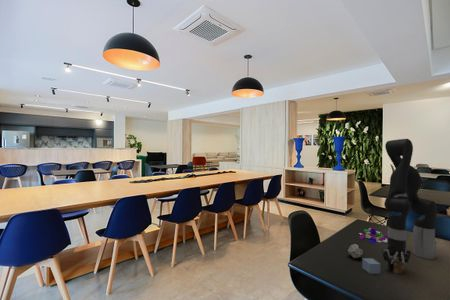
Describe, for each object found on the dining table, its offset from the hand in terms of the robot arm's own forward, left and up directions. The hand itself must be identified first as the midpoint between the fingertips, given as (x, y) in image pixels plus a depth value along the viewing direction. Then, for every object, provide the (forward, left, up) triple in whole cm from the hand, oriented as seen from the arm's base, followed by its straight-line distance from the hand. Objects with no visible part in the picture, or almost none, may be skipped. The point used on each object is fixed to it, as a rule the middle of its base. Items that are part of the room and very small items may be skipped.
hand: (395, 269), depth 111 cm
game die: (+13, -13, -1) cm, 18 cm away
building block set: (-21, -42, -1) cm, 47 cm away
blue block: (+13, 0, -1) cm, 13 cm away
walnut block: (0, 0, 0) cm, 0 cm away
